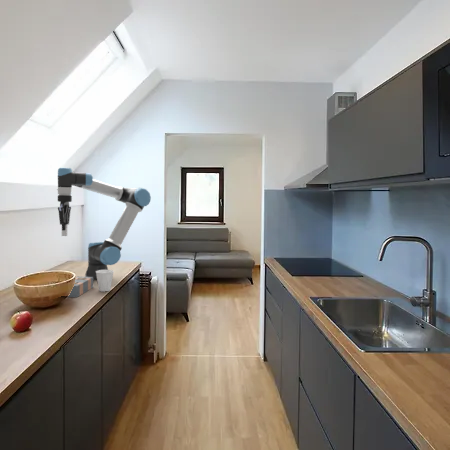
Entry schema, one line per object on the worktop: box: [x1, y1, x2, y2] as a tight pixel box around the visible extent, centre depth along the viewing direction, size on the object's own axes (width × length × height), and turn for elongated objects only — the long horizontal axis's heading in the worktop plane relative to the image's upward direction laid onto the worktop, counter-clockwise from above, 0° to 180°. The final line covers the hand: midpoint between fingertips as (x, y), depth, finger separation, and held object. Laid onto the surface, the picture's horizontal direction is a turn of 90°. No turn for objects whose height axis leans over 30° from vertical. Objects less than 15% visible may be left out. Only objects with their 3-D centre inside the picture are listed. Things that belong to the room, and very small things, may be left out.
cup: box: [96, 269, 115, 293], centre depth 227 cm, size 10×10×11 cm
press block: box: [67, 276, 94, 298], centre depth 223 cm, size 24×9×6 cm, turn 179°
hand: (64, 235), depth 233 cm, fingers closed
